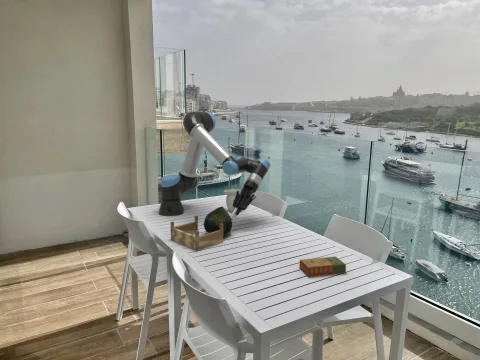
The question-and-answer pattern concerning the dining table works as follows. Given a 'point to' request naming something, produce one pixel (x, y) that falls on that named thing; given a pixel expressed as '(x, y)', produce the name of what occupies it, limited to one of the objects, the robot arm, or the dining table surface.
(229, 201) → the pitcher
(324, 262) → the carton
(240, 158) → the robot arm
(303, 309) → the dining table surface
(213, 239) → the rack
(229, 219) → the squash
